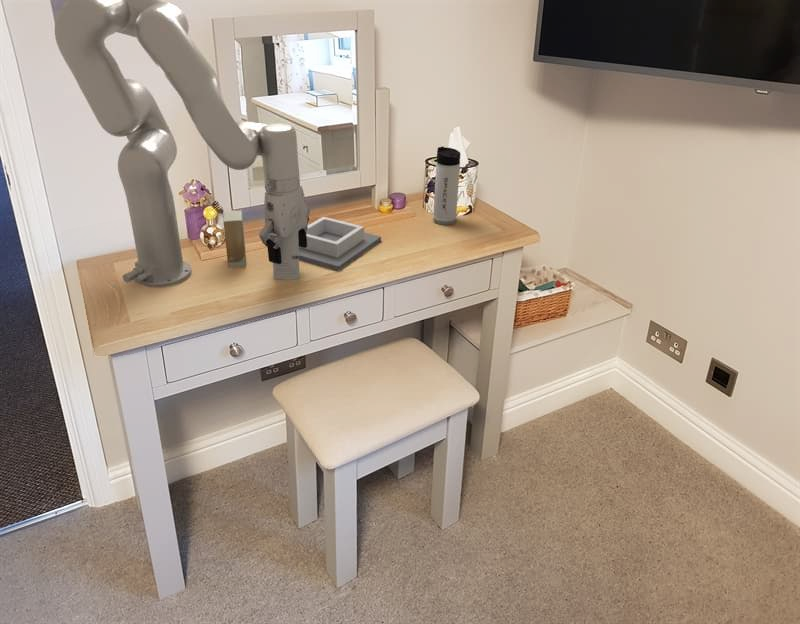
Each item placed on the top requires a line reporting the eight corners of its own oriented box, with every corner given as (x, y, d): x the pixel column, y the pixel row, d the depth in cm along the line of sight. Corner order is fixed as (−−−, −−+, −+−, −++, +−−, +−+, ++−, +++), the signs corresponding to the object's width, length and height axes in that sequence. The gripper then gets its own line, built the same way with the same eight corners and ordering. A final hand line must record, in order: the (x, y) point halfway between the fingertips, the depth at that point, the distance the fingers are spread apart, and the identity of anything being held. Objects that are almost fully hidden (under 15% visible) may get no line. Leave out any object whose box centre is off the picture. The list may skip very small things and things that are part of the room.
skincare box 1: (228, 257, 168) (223, 210, 162) (246, 256, 169) (242, 209, 162) (228, 269, 162) (222, 220, 156) (246, 267, 163) (242, 219, 157)
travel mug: (443, 214, 195) (447, 144, 185) (460, 221, 191) (465, 150, 181) (427, 219, 191) (431, 148, 181) (444, 227, 187) (449, 155, 177)
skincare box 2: (273, 280, 158) (269, 231, 152) (273, 271, 162) (270, 223, 156) (300, 279, 159) (298, 230, 153) (300, 270, 163) (297, 222, 157)
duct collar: (338, 270, 163) (338, 252, 161) (277, 253, 170) (276, 235, 168) (380, 240, 178) (381, 224, 176) (323, 226, 186) (322, 209, 183)
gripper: (271, 198, 141) (278, 273, 150) (319, 173, 154) (323, 243, 163) (242, 192, 144) (251, 265, 153) (292, 168, 157) (297, 237, 166)
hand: (288, 254), depth 158 cm, fingers open, 9 cm apart
